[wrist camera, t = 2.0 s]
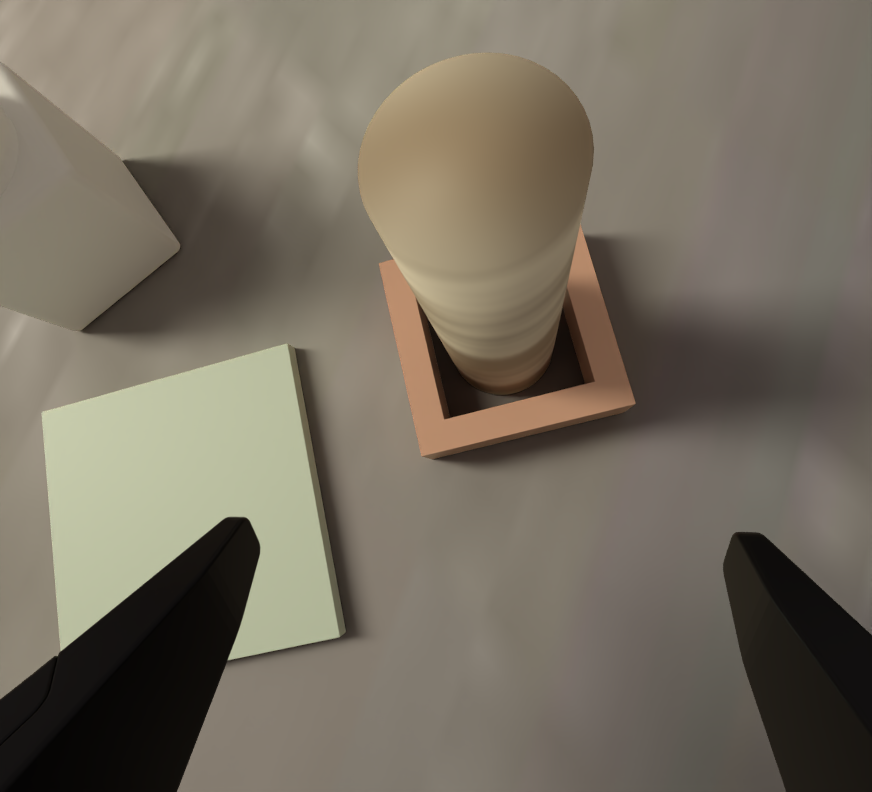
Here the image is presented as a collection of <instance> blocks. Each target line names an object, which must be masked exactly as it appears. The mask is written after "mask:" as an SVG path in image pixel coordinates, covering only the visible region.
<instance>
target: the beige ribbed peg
mask: <svg viewBox="0 0 872 792" xmlns="http://www.w3.org/2000/svg"><path fill="white" fill-rule="evenodd" d="M593 154H594V146H593V135H592V131H591V127H590V123H589V120H588V117H587V115H586V112H585V110H584V108H583V106H582V104H581V103H580V101H579V99H578V98H577V96H576V95H575V94H574V92H573V91H572V90H571V89H570V88H569V86H568V85H567V84H566V83H565V82H563V81H562V80H561V79H560V78H559V77H558V76H557V75H555V74H554V73H552V72H551V71H549V70H548V69H546V68H545V67H543V66H541V65H539V64H537V63H535V62H532V61H530V60H527V59H524V58H521V57H517V56H513V55H508V54H500V53H473V54H466V55H460V56H456V57H452V58H449V59H445V60H443V61H440V62H438V63H435V64H433V65H430V66H428V67H426V68H425V69H423V70H421V71H419V72H417V73H416V74H414V75H413V76H411V77H410V78H408V79H407V80H406V81H404V82H403V83H402V84H401V85H400V86H399V87H397V88H396V89H395V90H394V91H393V92H392V93H391V94H390V95H389V96H388V97H387V99H386V100H385V101H384V102H383V103H382V105H381V106H380V107H379V109H378V110H377V112H376V113H375V115H374V117H373V118H372V120H371V122H370V124H369V126H368V128H367V130H366V133H365V135H364V138H363V141H362V145H361V149H360V153H359V161H358V182H359V189H360V194H361V197H362V201H363V204H364V207H365V209H366V211H367V213H368V215H369V217H370V219H371V221H372V223H373V224H374V226H375V228H376V230H377V231H378V233H379V235H380V236H381V238H382V240H383V242H384V243H385V245H386V247H387V249H388V250H389V252H390V254H391V255H392V257H393V259H394V261H395V262H396V264H397V266H398V268H399V269H400V271H401V273H402V274H403V276H404V278H405V280H406V281H407V283H408V285H409V286H410V288H411V290H412V292H413V293H414V295H415V297H416V299H417V300H418V302H419V304H420V305H421V307H422V309H423V311H424V312H425V314H426V316H427V318H428V319H429V321H430V323H431V324H432V326H433V328H434V330H435V331H436V333H437V335H438V336H439V338H440V340H441V342H442V343H443V345H444V347H445V349H446V350H447V352H448V354H449V355H450V357H451V359H452V361H453V362H454V364H455V366H456V368H457V369H458V371H459V372H460V374H461V375H462V377H463V378H464V379H465V380H466V381H467V382H468V383H469V384H470V385H472V386H473V387H475V388H477V389H479V390H481V391H483V392H486V393H490V394H494V395H509V394H514V393H517V392H520V391H523V390H525V389H527V388H529V387H530V386H532V385H533V384H534V383H536V382H537V381H538V380H539V379H540V378H541V377H542V376H543V374H544V373H545V371H546V370H547V368H548V366H549V364H550V361H551V358H552V354H553V349H554V345H555V340H556V335H557V331H558V326H559V321H560V316H561V312H562V307H563V302H564V298H565V293H566V288H567V284H568V279H569V274H570V270H571V265H572V260H573V256H574V251H575V246H576V241H577V237H578V232H579V227H580V223H581V218H582V213H583V209H584V204H585V199H586V195H587V190H588V185H589V181H590V176H591V171H592V166H593Z"/></svg>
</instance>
